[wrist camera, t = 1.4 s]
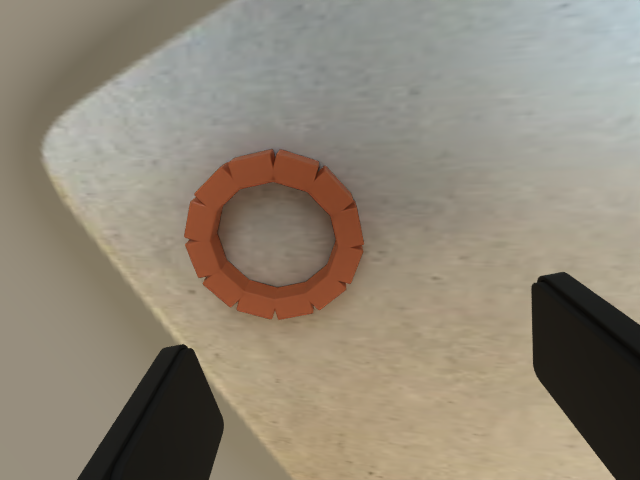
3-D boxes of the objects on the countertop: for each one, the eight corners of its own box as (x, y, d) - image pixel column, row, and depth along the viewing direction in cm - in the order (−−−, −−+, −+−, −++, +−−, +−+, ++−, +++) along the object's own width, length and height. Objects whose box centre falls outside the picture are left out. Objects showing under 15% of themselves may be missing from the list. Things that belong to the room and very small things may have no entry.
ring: (168, 173, 18) (157, 179, 17) (341, 132, 17) (342, 135, 16) (225, 317, 21) (218, 331, 20) (372, 289, 20) (375, 302, 19)
